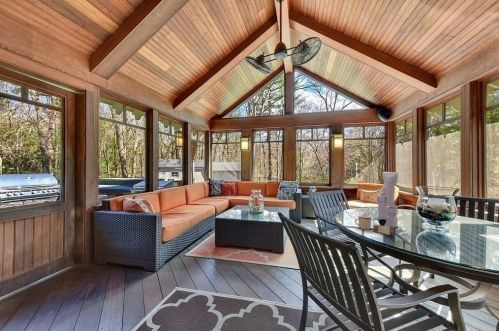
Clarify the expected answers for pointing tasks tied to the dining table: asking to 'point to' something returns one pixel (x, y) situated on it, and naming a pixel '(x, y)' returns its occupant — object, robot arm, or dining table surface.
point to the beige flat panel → (383, 229)
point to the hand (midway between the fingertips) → (381, 229)
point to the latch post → (375, 228)
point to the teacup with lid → (364, 221)
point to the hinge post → (391, 230)
